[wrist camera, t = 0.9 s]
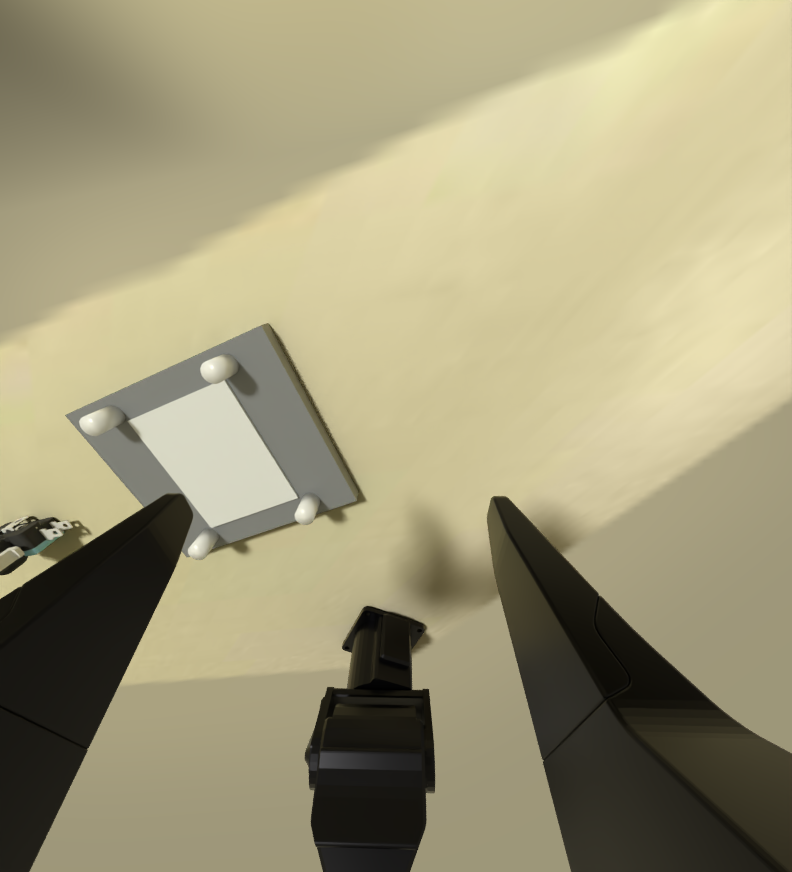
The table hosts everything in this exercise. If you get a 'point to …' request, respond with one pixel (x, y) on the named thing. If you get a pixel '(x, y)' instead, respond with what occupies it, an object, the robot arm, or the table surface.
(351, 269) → the table surface
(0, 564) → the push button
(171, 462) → the mounting base
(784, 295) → the table surface
